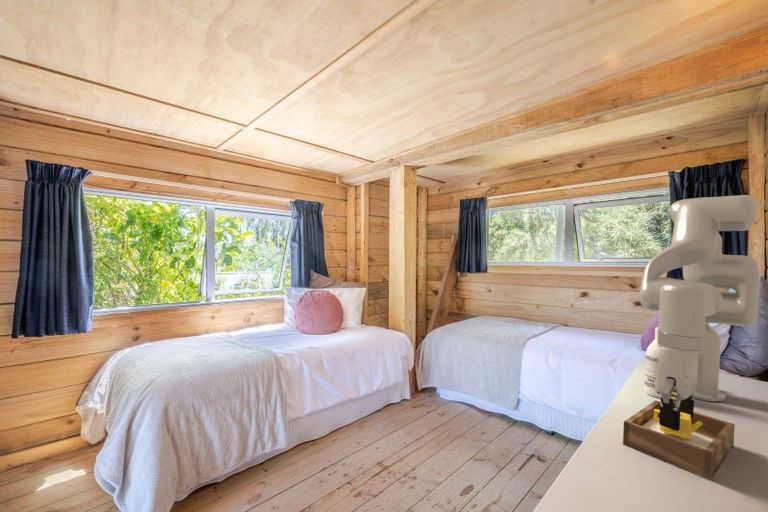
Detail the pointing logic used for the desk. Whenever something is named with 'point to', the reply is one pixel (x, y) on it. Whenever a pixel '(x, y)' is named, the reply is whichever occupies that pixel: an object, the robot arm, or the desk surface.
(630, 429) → the box
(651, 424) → the plate
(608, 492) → the desk surface
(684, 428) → the teapot
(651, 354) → the bath foam
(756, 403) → the desk surface
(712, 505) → the desk surface
